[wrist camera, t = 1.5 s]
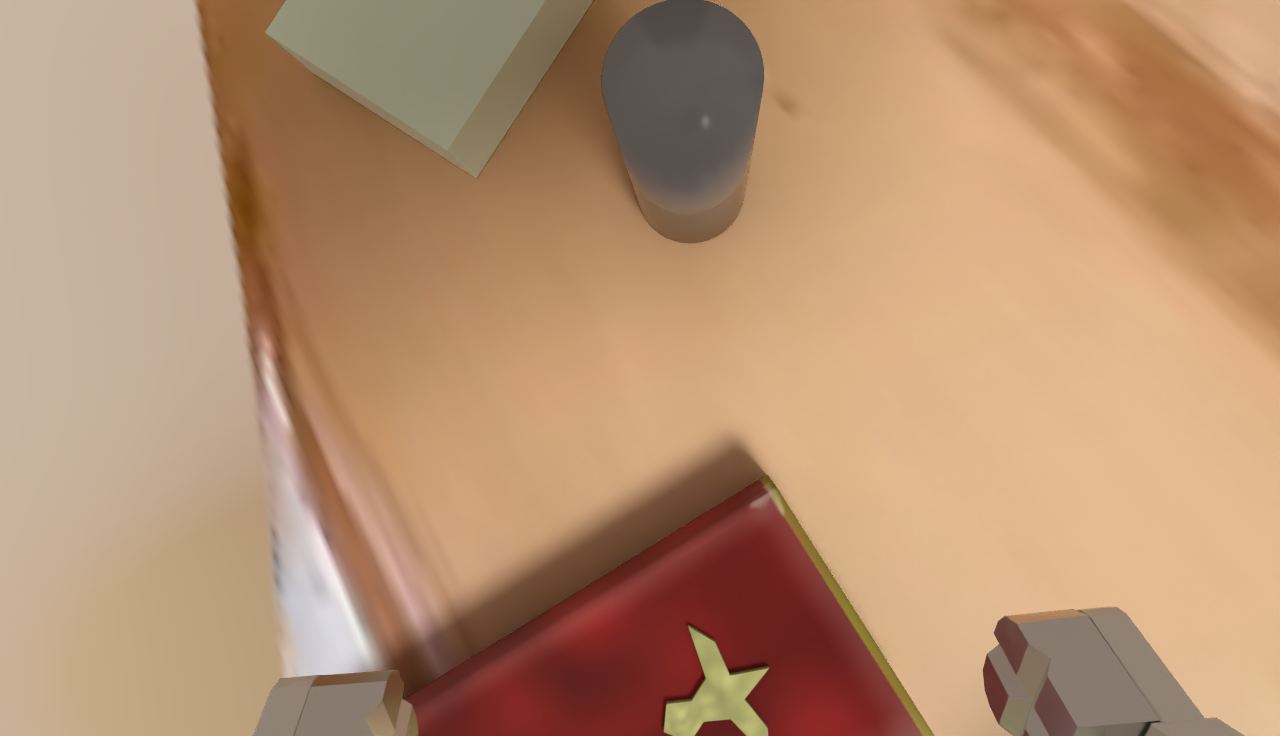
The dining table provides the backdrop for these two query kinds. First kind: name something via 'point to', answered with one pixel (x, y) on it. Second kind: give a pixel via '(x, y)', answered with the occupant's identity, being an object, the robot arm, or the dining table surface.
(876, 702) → the hardcover book
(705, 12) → the slate jar
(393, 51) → the block
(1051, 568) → the dining table surface
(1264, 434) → the dining table surface
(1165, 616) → the dining table surface
